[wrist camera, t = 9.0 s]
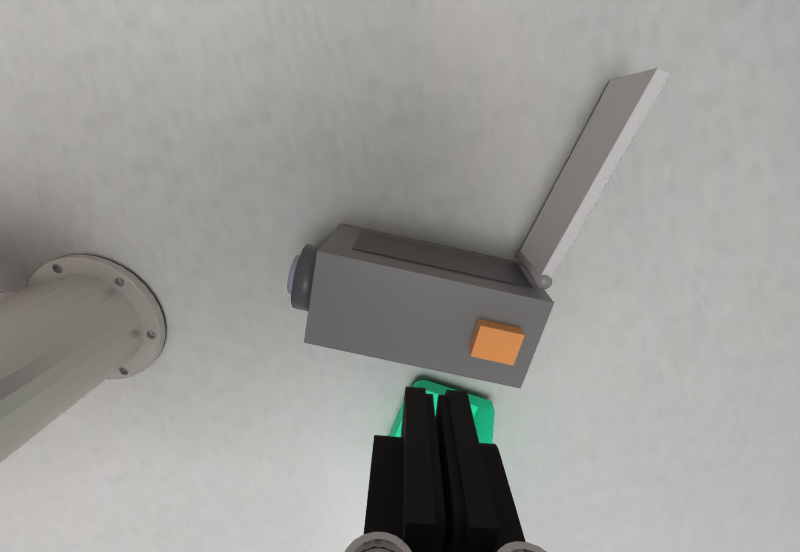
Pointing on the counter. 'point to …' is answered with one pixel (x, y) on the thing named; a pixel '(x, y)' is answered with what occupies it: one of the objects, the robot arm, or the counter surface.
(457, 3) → the counter surface
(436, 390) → the camera mount
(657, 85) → the door
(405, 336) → the camera body
